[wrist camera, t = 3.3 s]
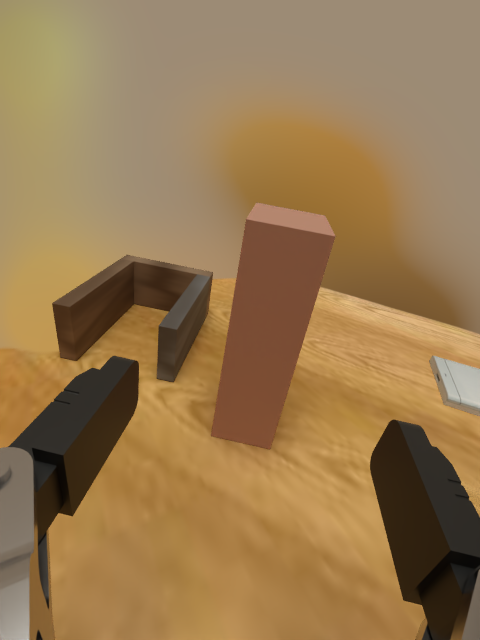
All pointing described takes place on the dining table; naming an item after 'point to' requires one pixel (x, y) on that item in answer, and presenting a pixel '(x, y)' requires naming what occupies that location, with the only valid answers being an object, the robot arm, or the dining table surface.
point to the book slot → (143, 289)
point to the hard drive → (457, 384)
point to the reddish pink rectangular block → (269, 319)
